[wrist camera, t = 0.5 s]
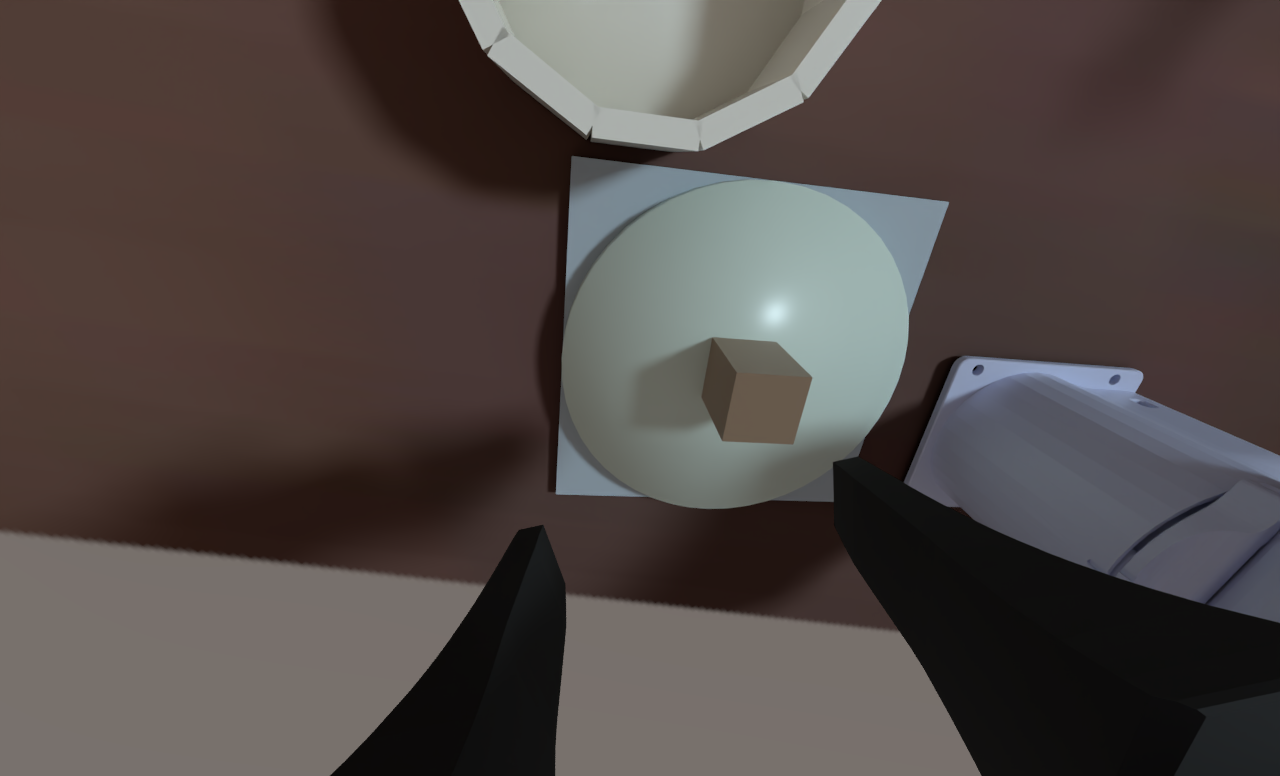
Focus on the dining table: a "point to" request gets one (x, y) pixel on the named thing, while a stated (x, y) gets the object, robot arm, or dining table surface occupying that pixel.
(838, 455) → the lid
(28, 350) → the dining table surface
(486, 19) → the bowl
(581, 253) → the mat
